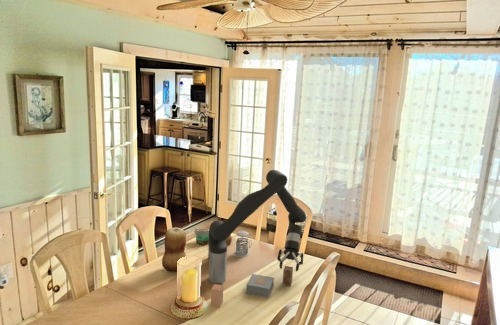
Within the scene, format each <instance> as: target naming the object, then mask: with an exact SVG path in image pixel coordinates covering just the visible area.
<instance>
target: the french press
mask: <svg viewBox="0 0 500 325" xmlns="http://www.w3.org/2000/svg"><path fill="white" fill-rule="evenodd" d="M235 235H236V236H237V239H236V242H235V252H234V253H233V255H234V256H235V257H237V258H247V257H249V256H250V253H249V252H248V251H249V249H250V248H251V247H252V239H251V238H250V237H249V235H250V233H249V232H247V231H246V230H239V231H238V232H236V234H235ZM249 243H250V244H249Z"/></svg>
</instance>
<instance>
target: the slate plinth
mask: <svg viewBox="0 0 500 325" xmlns="http://www.w3.org/2000/svg"><path fill="white" fill-rule="evenodd" d="M274 281H275V277H273V276H267V275H261V274H257V273H256V274H255V273H252V274H251V276H250V278H249V279H248V281H247V282H246V286H245V287H246V290H245V294H248V295H252V296H258V297H262V298H270V295H271V293H272V290H273V288H274V284H275V283H274Z"/></svg>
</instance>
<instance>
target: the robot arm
mask: <svg viewBox="0 0 500 325" xmlns="http://www.w3.org/2000/svg"><path fill="white" fill-rule="evenodd" d="M265 178H266V179H265V180H266V182H267V185H265V187H264V186H263V188H261V189H258V190H257V191H253V192H251V193H250V194H247V195H246V196H245V197H243V199H241V201H239V202H238V203H237V205H236V207H235V208H234V210H233V212H232V213H231V215H230V216H229V217H228V218H227V219H226V220H224V222H223V221H222V220H219V219H218V220H214V221H213V222H211V223H210V226H209V227H208V229H209V230H208V231H209V244H208V247H209V246H210V260H209V269H208V270H209V271H208V277H209V278H208V281H209V282H210V283H212V284H216V285H220V284H223V283H225V282H226V280H227V256H228V244H226V241H225V239H227V238H228V237H229V236H230V235H231V236H232V234H233V232H234V231H235V230H236V229H237V228H238V227H239V226H240V225H241V224H243V223H244V222H245V221H246V220H247V219H248V218H249V217H250V216H251V215H253V213H255V212H256V211H257V210H258V209H259V208H260V207H262V205H263V204H265V203H266V202H267V201H268V200H269V199H271V198H272V197H273V196H274V195H275V194H277V196H278V198H279V199H280V201H281V203H282V205H283V206H284V208H285V209H286V211H287V213H288V216H287V217H288V218H287V219H288V233H287V236H286V242H285V249H284V250H282V249H279V250H278V254H277V261H278V262H279V268H280V269H281V270H282V269H283V265H284V264H283V263H284V261H286V260H290V261H295V264H296V265H295V266H296V267H295V272H298V271H299V269H300V266H302V265H303V264H304V253H303V252H301V253H300V252H299V249H300V244H301V233H302V227H301V225H299V224H297V223H300V224H301V223H305V221H306V219H307V215H306V213H305V211H304V210H303V208H301V206H299V205H298V203H297V201H296V200H295V198H294V197H293V195H292V194H291V193H290V191H288V189H287V188H286V185H287V183H288V177H287V176H286V174H284V173H283V172H281V171H279V170H277V169H271V170H269V171H268V172H267V173H266V176H265ZM282 255H283V256H282ZM298 257H299V258H300V261H299V259H298Z"/></svg>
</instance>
